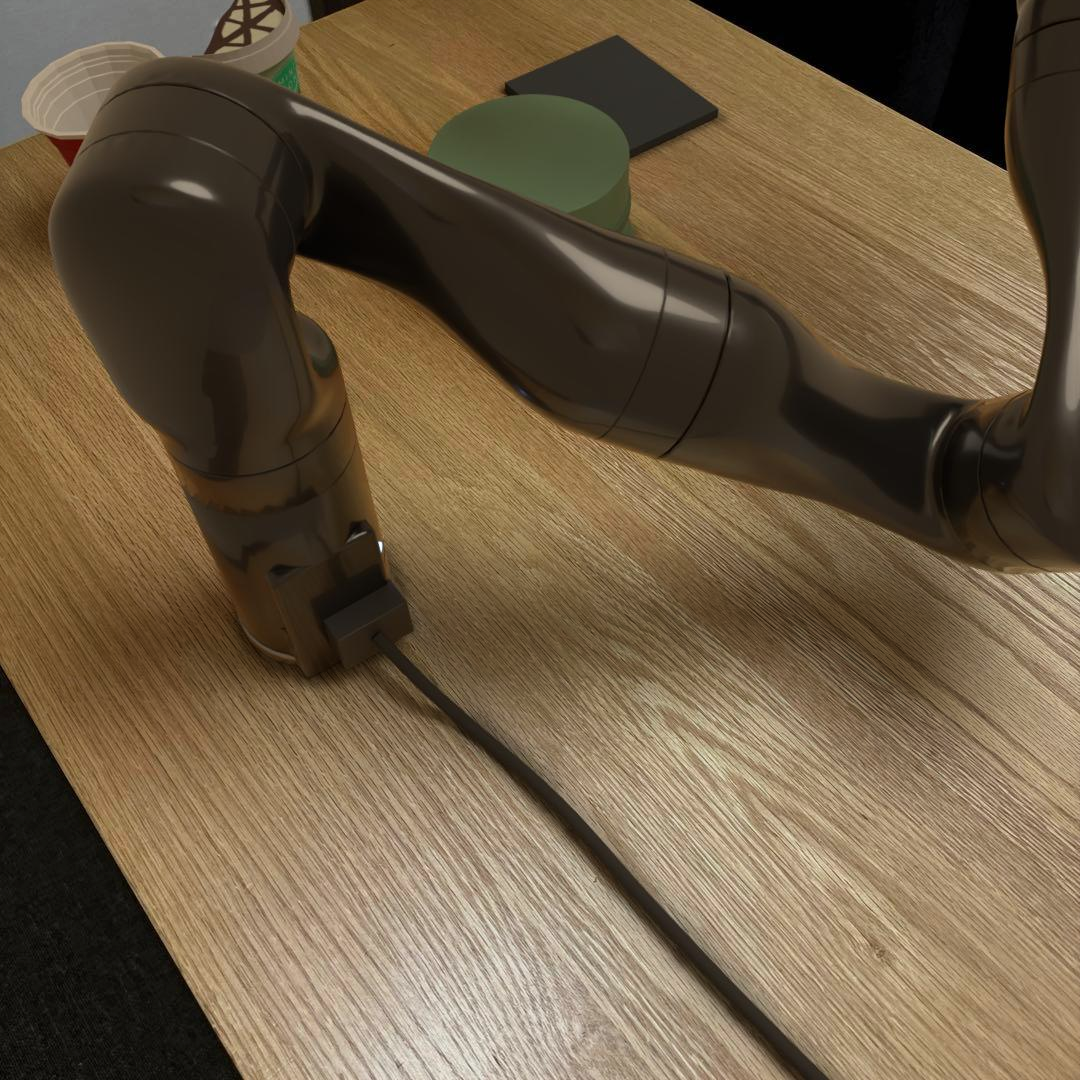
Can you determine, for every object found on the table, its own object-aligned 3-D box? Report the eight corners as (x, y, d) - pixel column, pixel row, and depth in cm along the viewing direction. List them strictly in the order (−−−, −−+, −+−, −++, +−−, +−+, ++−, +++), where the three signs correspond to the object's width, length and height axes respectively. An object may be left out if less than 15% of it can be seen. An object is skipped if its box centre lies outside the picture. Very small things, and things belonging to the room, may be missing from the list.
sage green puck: (676, 268, 88) (683, 165, 81) (504, 356, 83) (496, 255, 76) (558, 167, 96) (555, 64, 88) (395, 242, 91) (378, 140, 84)
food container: (295, 176, 96) (268, 63, 88) (222, 171, 97) (189, 59, 89) (334, 88, 103) (312, -24, 95) (266, 84, 104) (239, -28, 96)
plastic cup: (61, 202, 95) (0, 66, 86) (190, 160, 98) (146, 23, 88) (96, 282, 90) (35, 145, 80) (232, 235, 92) (190, 97, 82)
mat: (718, 116, 99) (718, 108, 98) (601, 171, 95) (601, 163, 94) (617, 42, 106) (617, 34, 105) (504, 90, 102) (504, 82, 102)
